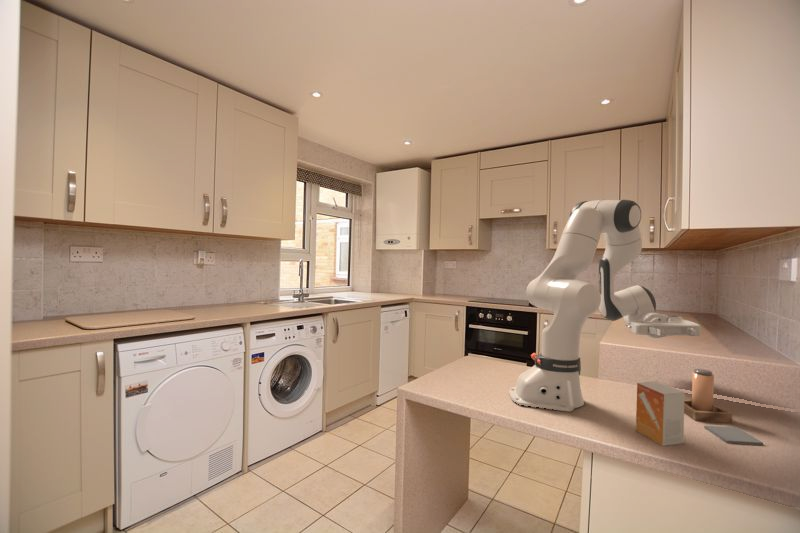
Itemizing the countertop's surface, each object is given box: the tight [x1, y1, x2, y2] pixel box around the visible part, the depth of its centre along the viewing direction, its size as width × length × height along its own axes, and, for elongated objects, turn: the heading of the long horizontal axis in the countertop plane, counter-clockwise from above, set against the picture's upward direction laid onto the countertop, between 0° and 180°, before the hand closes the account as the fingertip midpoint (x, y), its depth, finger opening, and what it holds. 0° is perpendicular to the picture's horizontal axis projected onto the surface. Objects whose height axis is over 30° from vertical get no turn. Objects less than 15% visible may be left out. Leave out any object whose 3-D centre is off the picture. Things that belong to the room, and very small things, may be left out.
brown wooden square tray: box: [684, 399, 733, 423], centre depth 107 cm, size 9×9×2 cm
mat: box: [704, 425, 764, 446], centre depth 94 cm, size 8×8×1 cm
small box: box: [635, 380, 686, 447], centre depth 93 cm, size 8×6×13 cm
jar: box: [691, 368, 715, 412], centre depth 107 cm, size 5×5×13 cm
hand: (678, 333), depth 118 cm, fingers open, 8 cm apart
